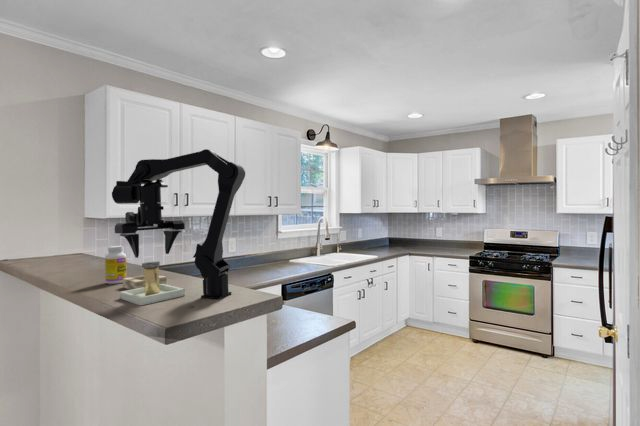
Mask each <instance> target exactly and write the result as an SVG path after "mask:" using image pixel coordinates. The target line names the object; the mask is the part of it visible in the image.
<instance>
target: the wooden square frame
mask: <svg viewBox="0 0 640 426" xmlns="http://www.w3.org/2000/svg"><path fill="white" fill-rule="evenodd" d="M159 284H166V285H168V281H167V276H164V275H160V274H159ZM143 287H145V284H144V274H143V275H142V274H141V275H135V276H129V277H127V278H123V283H122V288H124V289H127V290H132V289H137V288H143Z"/></svg>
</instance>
